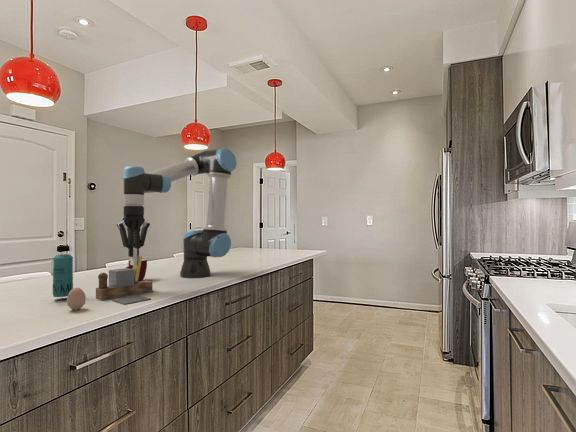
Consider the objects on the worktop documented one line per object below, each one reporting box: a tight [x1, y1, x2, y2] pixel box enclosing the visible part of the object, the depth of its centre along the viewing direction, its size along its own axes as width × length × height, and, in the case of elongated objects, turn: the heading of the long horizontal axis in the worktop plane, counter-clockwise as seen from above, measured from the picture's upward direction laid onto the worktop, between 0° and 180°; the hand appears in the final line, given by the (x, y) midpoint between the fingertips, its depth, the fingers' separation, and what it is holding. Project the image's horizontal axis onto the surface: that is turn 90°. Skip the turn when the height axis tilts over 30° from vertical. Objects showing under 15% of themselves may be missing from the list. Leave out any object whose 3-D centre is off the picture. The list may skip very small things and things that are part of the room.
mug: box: [125, 258, 148, 282], centre depth 168 cm, size 10×8×10 cm
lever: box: [133, 255, 143, 284], centre depth 143 cm, size 1×4×11 cm, turn 52°
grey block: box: [108, 267, 134, 288], centre depth 139 cm, size 7×6×6 cm
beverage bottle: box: [52, 244, 74, 298], centre depth 133 cm, size 6×7×20 cm
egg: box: [66, 287, 87, 311], centre depth 118 cm, size 5×5×7 cm
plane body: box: [95, 272, 153, 301], centre depth 140 cm, size 20×5×10 cm, turn 141°
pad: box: [111, 294, 151, 306], centre depth 131 cm, size 10×9×1 cm
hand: (133, 264), depth 143 cm, fingers closed
